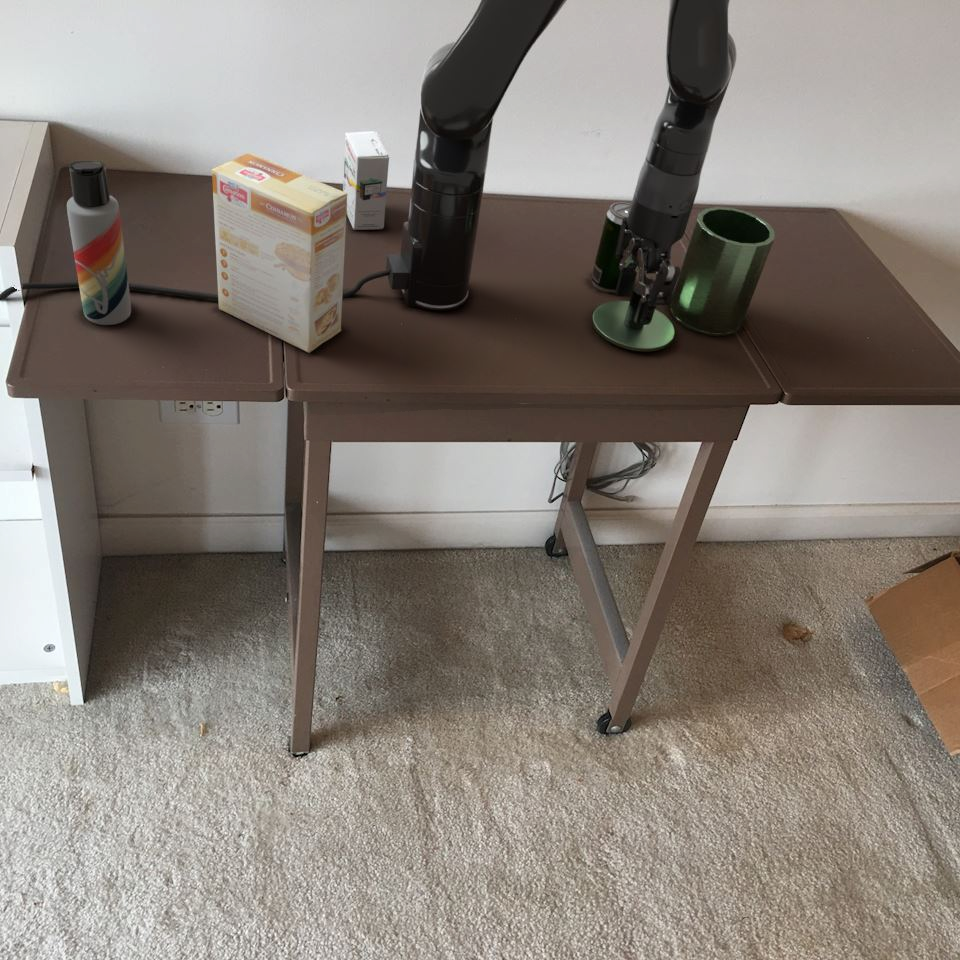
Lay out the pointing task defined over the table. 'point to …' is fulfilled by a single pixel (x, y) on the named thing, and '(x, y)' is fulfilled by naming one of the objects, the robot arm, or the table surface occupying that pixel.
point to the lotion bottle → (98, 245)
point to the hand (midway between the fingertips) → (632, 308)
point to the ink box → (365, 179)
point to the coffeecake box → (279, 250)
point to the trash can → (721, 270)
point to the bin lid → (632, 325)
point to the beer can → (609, 249)
